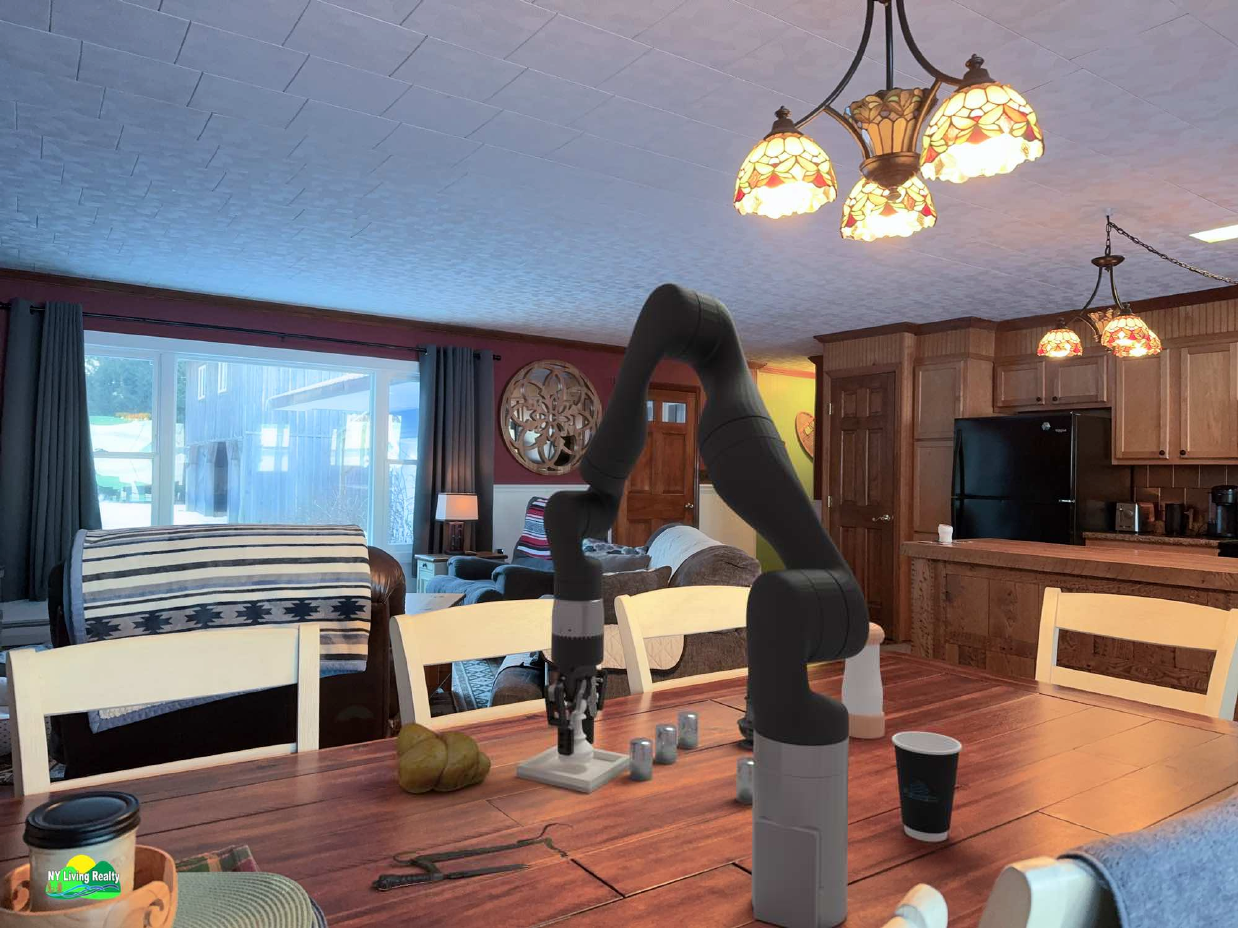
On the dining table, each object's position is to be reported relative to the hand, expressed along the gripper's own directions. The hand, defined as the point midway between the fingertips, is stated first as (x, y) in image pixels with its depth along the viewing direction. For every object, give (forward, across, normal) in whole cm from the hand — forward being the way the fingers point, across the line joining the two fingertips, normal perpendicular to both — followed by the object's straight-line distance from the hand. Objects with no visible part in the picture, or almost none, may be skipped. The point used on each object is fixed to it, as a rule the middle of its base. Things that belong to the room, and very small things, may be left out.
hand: (576, 748), depth 120 cm
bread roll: (+4, -14, +13) cm, 19 cm away
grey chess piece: (+4, +25, -18) cm, 31 cm away
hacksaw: (+4, -28, -5) cm, 28 cm away
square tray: (+3, 0, 0) cm, 3 cm away
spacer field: (+3, +11, -17) cm, 20 cm away
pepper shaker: (+4, +41, -31) cm, 51 cm away
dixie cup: (+4, +4, -47) cm, 47 cm away
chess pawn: (+2, 0, 0) cm, 2 cm away
